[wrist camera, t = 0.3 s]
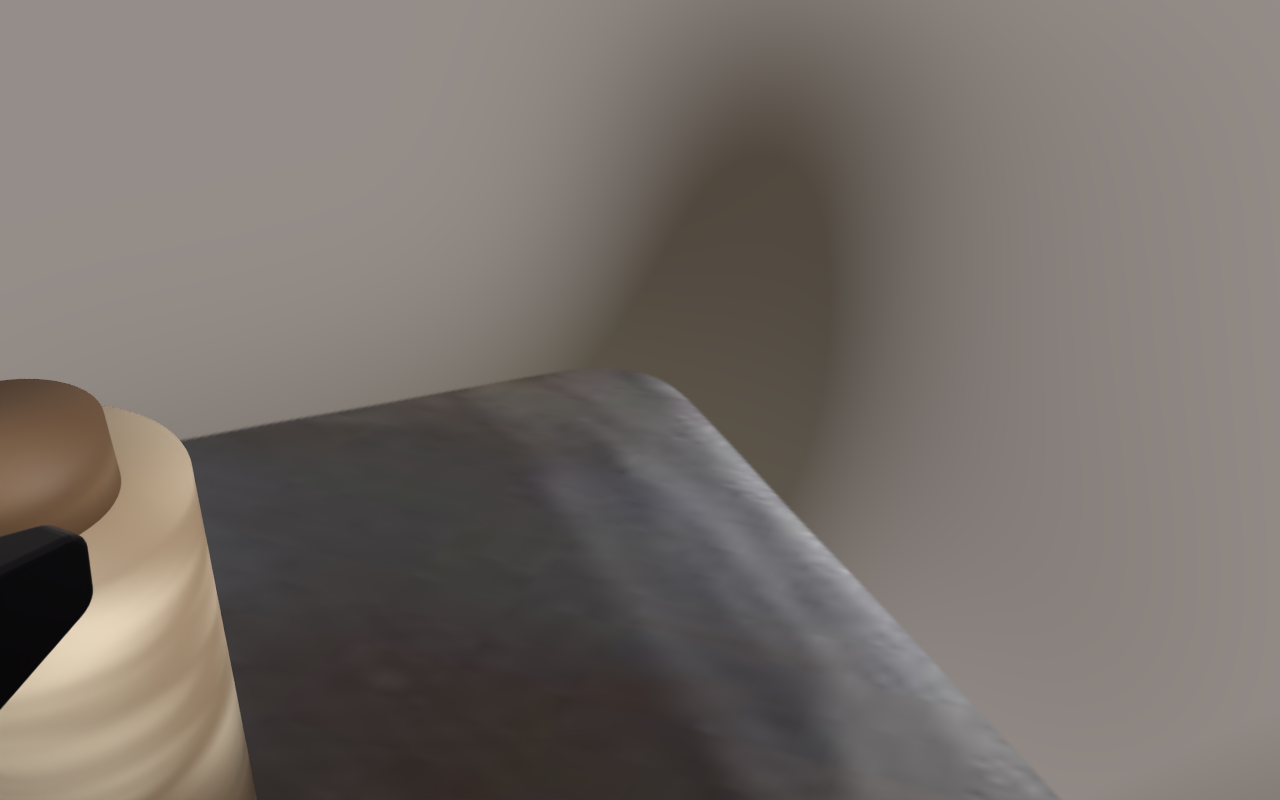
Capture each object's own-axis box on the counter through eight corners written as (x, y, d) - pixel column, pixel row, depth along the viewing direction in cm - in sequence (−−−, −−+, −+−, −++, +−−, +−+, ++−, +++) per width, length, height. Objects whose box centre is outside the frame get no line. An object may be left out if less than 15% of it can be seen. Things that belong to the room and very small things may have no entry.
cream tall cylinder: (158, 1000, 19) (-33, 607, 10) (-13, 906, 20) (-321, 469, 11) (301, 804, 23) (247, 403, 14) (154, 732, 24) (21, 312, 15)
